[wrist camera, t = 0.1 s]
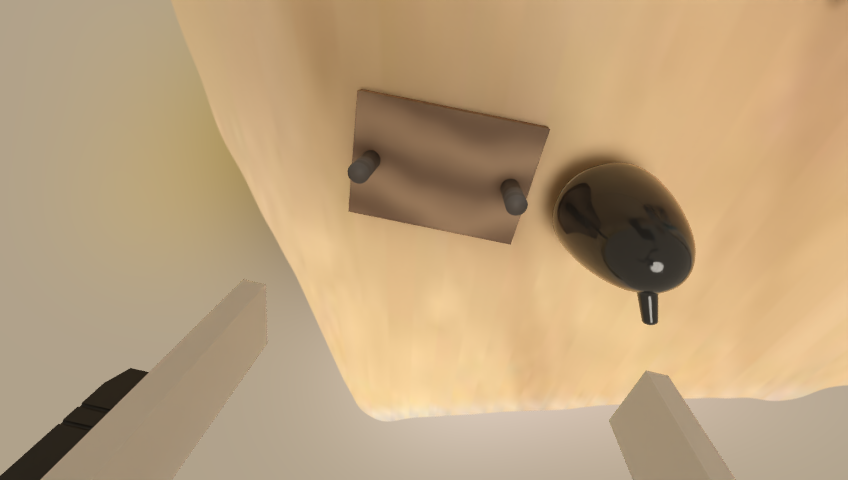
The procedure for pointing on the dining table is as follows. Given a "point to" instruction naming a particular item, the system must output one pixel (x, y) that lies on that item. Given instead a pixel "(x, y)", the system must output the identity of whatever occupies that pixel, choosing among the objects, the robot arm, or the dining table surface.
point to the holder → (442, 166)
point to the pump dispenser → (626, 231)
